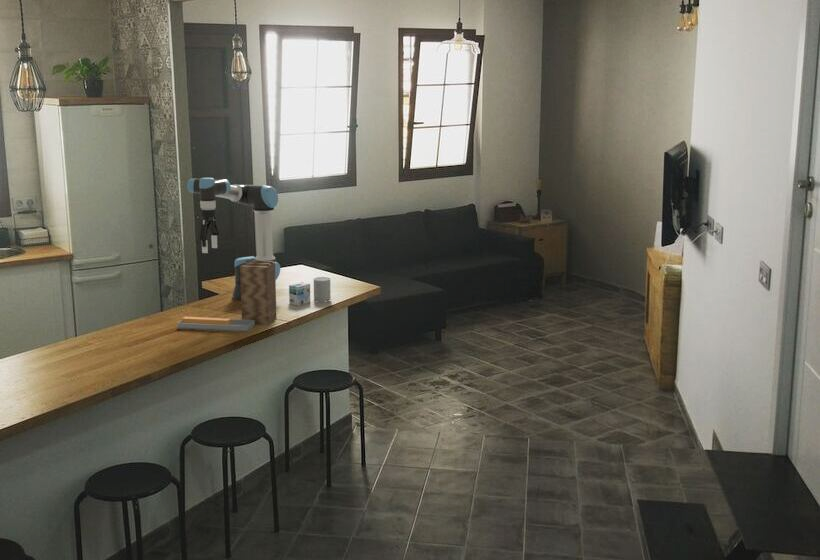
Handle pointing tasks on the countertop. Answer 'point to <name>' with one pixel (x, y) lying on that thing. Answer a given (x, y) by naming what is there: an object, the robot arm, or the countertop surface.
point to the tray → (221, 326)
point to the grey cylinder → (322, 289)
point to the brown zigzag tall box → (258, 291)
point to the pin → (206, 320)
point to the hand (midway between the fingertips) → (209, 250)
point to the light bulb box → (299, 293)
